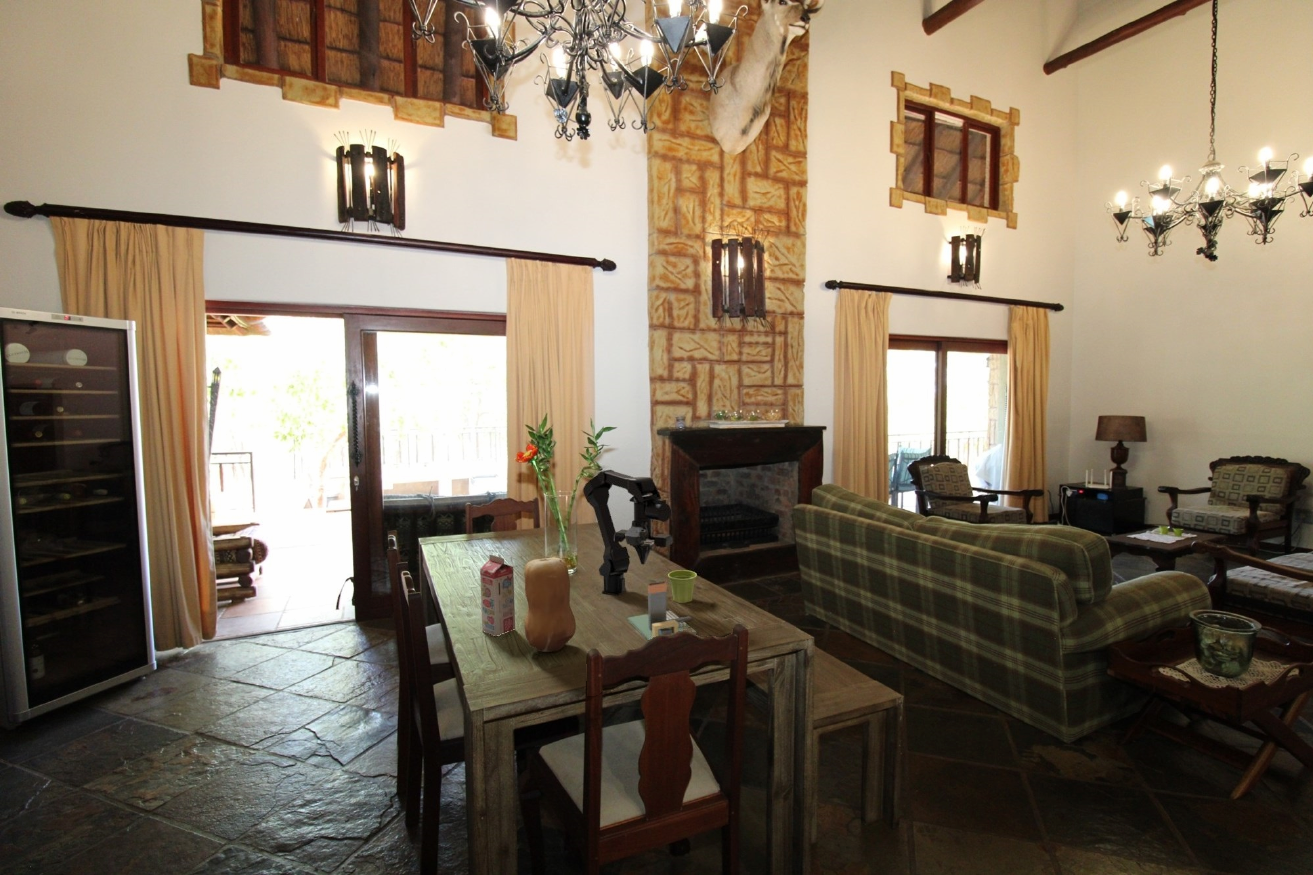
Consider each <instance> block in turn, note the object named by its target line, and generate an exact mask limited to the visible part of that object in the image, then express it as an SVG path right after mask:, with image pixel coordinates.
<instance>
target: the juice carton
mask: <svg viewBox="0 0 1313 875" xmlns="http://www.w3.org/2000/svg"><path fill="white" fill-rule="evenodd" d="M488 557H489V558H488V559H489V560H488V561H486V563H484V564H483V565H481V567H480V568H479V571H480V572H479V577H480V578H479V579H480V601H481V602H480V603H481V627H482V628H481V629H482V630H481V632H482V631H485V632H486V633H485V632H484V633H485V634H487V633H489V634H488V635H490V634H491V635H490V636H492V635H495V636H497V635H500V634H502V633H505V632H507V631H511V630H513V629H515V630H516V618H515V617H516V615H515V614H516V613H515V610H516V609H515V582H514V581H515V580H514V577H515V576H514V567H513V566H512V565H509V564H505V559H504V558H503V557H500V556H496V555H493V554H490V553H489V556H488ZM511 632H512V631H511Z"/></svg>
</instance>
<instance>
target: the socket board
mask: <svg viewBox="0 0 1313 875" xmlns="http://www.w3.org/2000/svg"><path fill="white" fill-rule="evenodd" d="M676 618H680V617H679V616H678V615H677V614H676V613H674V612H673V611H671V610H666V620H670V619H676ZM627 621H628V623H629V624H631V625H632V626H633V627H634V628H635V629H636V630H637V631H638V632H639V634H641V633H642V634H641V636H643V635H644V636H643V637H644V638H645V637H646V638H647V639H646V638H645V639H646V640H647V641H648V640H650V639H652V638H653V637H656V636H658V635H659V634H658V629H663V628H668V627H669V628H671V629H672V633H676V632H678V631H683V630H687V629H683V628H685V627H691V626H690V625H689V624H688V623H686V622H685V621H680V622H677V621H675V620H671V621H665V622H659V623H654V624H652V630H650V629H649V623H648V614H647V613H646V614H641V615H635V616H630V617H627ZM691 629H692V632H694V633H696V634H697V631H696V630H695V629H694V628H692V627H691Z"/></svg>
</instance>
